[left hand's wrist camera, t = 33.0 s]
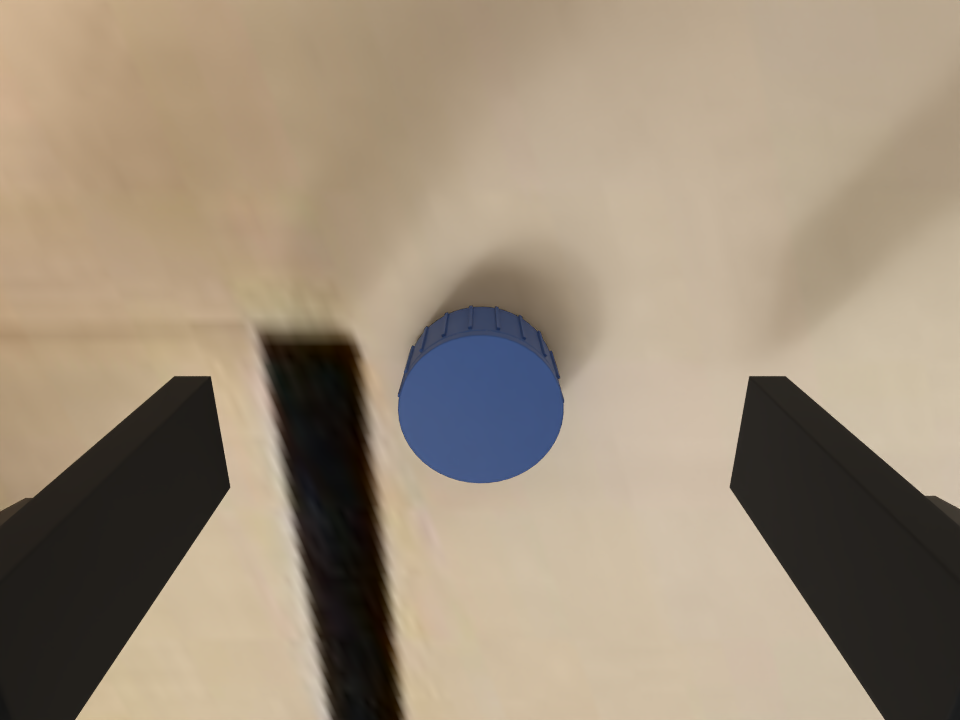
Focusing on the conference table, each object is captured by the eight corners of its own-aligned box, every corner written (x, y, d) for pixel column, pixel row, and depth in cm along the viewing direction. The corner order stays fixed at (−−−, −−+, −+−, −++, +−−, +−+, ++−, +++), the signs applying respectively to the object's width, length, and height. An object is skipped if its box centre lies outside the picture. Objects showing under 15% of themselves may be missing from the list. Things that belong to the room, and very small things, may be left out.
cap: (576, 327, 16) (590, 359, 14) (528, 455, 17) (534, 502, 15) (428, 285, 15) (419, 311, 13) (391, 420, 17) (378, 463, 15)
